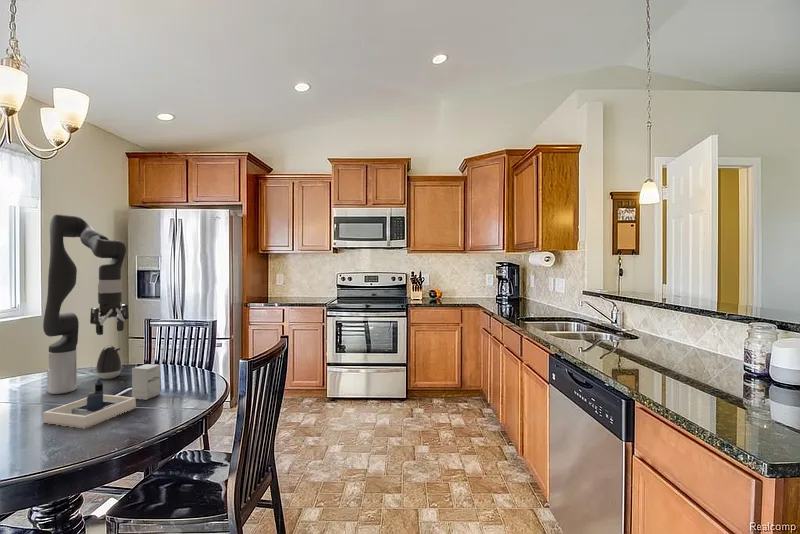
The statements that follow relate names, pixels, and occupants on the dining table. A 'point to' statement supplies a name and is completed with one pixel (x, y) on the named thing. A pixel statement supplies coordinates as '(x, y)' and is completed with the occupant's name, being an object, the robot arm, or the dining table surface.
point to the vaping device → (95, 397)
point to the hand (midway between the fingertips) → (110, 332)
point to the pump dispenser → (109, 363)
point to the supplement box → (145, 381)
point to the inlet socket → (83, 410)
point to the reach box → (66, 417)
